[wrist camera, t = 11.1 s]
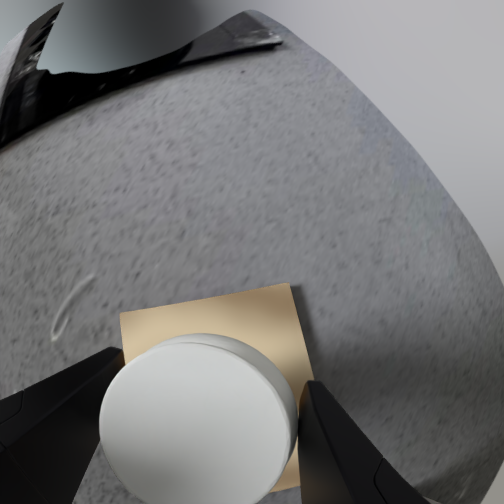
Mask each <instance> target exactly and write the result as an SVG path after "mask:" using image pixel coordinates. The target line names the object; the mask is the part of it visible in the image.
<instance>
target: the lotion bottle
mask: <svg viewBox="0 0 504 504" xmlns="http://www.w3.org/2000/svg"><path fill="white" fill-rule="evenodd" d="M423 497H424V496H423ZM424 498H425V499H426V500H428V501H429V502H430V503H431V504H441V503H439V502H436V501H434V500H431V499H429V498H426V497H424Z"/></svg>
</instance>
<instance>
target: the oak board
mask: <svg viewBox="0 0 504 504" xmlns="http://www.w3.org/2000/svg"><path fill="white" fill-rule="evenodd" d="M120 323H121V333H122V341H123V349H124V357H125V364H126V365H127V364H128V363H129V362H130V361H132V360H133V359H134V358H136V357H137V356H139V355H141V354H143V353H145V352H146V351H147V350H149V349H150V348H152V347H153V346H155V345H157V344H159V343H161V342H162V341H165V340H167V339H170V338H173V337H176V336H180V335H185V334H195V333H209V334H217V335H223V336H227V337H231V338H234V339H237V340H239V341H241V342H244V343H246V344H248V345H250V346H252V347H253V348H255V349H257V350H258V351H259V352H261V353H262V354H263V355H265V356H266V357H267V358H268V359H269V360H270V361H271V362H273V363H274V364H275V366H276V367H277V368H278V369H279V370H280V372H281V373H282V375H283V376H284V378H285V379H286V381H287V382H288V384H289V386H290V388H291V390H292V392H293V395H294V398H295V401H296V405H297V410H298V418H299V401H300V397H301V394H302V391H303V388H304V385H305V383H306V381H307V380H314V377H313V373H312V369H311V365H310V361H309V357H308V353H307V349H306V346H305V342H304V338H303V334H302V330H301V326H300V323H299V319H298V315H297V311H296V307H295V304H294V300H293V296H292V293H291V289H290V285H289V282H287V283H283V284H278V285H273V286H268V287H263V288H258V289H253V290H248V291H243V292H237V293H232V294H227V295H222V296H216V297H211V298H205V299H200V300H194V301H189V302H183V303H177V304H172V305H166V306H160V307H154V308H148V309H142V310H136V311H130V312H123V313H120ZM297 444H298V436H297V441H296V445H295V449H294V451H293V454H292V456H291V458H290V460H289V461H288V463H287V465H286V466H285V469H284V471H283V474H282V476H281V477H280V479H279V480H278V482H277V483H276V485H275V486H274V487H273V489H272V490H271V491H270V492H269V493H271V492H275V491H280V490H284V489H288V488H292V487H296V486H299V485H300V474H299V463H298V450H297Z"/></svg>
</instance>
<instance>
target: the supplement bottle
mask: <svg viewBox="0 0 504 504" xmlns="http://www.w3.org/2000/svg"><path fill="white" fill-rule="evenodd" d="M298 426H299V418H298V410H297V405H296V401H295V398H294V395H293V392H292V390H291V388H290V386H289V384H288V382H287V381H286V379H285V378H284V376H283V375H282V373H281V372H280V370H279V369H278V368H277V367H276V366H275V364H274V363H273V362H271V361H270V360H269V359H268V358H267V357H266V356H265V355H263V354H262V353H261V352H259V351H258V350H257V349H255V348H253V347H252V346H250V345H248V344H246V343H244V342H241V341H239V340H237V339H234V338H231V337H227V336H223V335H217V334H209V333H195V334H185V335H180V336H176V337H173V338H170V339H167V340H165V341H162V342H161V343H159V344H157V345H155V346H153V347H152V348H150V349H149V350H147V351H146V352H145V353H143V354H141V355H139V356H137V357H136V358H134V359H133V360H132V361H130V362H129V363H128V364H127V365H125V366H124V367H123V368H122V369H121V370H120V372H119V373H118V374H117V375H116V376H115V378H114V379H113V380H112V382H111V384H110V385H109V387H108V389H107V391H106V394H105V396H104V398H103V402H102V405H101V411H100V418H99V431H100V439H101V443H102V447H103V451H104V454H105V457H106V459H107V461H108V463H109V465H110V467H111V469H112V471H113V472H114V474H115V475H116V477H117V478H118V479H119V480H120V482H121V483H122V484H123V485H124V486H125V488H126V489H127V490H128V491H129V492H131V493H132V494H133V495H134V496H135V497H137V498H138V499H139V500H141V501H142V502H143V503H145V504H256V503H258V502H259V501H260V500H261V499H263V498H264V497H265V496H266V495H267V494H268V493H269V492H270V491H271V490H272V489H273V487H274V486H275V485H276V483H277V482H278V480H279V479H280V477H281V476H282V474H283V471H284V469H285V466H286V465H287V463H288V461H289V460H290V458H291V456H292V454H293V451H294V449H295V445H296V441H297V436H298Z"/></svg>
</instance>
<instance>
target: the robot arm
mask: <svg viewBox="0 0 504 504" xmlns="http://www.w3.org/2000/svg"><path fill="white" fill-rule="evenodd" d="M124 366H125V358H124V352H123V350H122V349H119V348H116V347H108V348H106V349H104V350H102V351H100V352H98V353H96V354H94V355H92V356H90V357H88V358H86V359H84V360H82V361H80V362H78V363H76V364H74V365H72V366H70V367H68V368H66V369H64V370H62V371H60V372H58V373H56V374H54V375H52V376H50V377H48V378H46V379H44V380H42V381H40V382H38V383H36V384H34V385H32V386H30V387H28V388H26V389H24V391H23V390H21V391H19V392H17V393H15V394H13V395H11V396H9V397H6V398H4V399H2V400H0V504H72V502H73V500H74V497H75V495H76V493H77V490H78V488H79V486H80V483H81V481H82V479H83V477H84V474H85V472H86V470H87V468H88V465H89V463H90V461H91V459H92V456H93V454H94V452H95V450H96V448H97V446H98V443H99V441H100V431H99V418H100V411H101V405H102V402H103V398H104V396H105V394H106V391H107V389H108V387H109V385H110V384H111V382H112V380H113V379H114V378H115V376H116V375H117V374H118V373H119V372H120V370H121V369H122V368H123V367H124ZM297 450H298V463H299V474H300V486H301V499H302V504H431V503H430V502H429V501H428V500H426V499H425V498H424V497H423V496H422V495H421V494H420V493H418V492H417V491H416V490H415V489H414V488H413V487H412V486H411V485H410V484H409V483H408V482H407V481H406V480H404V479H403V478H402V477H401V476H400V474H399V473H398V472H397V471H396V470H395V469H394V468H393V467H392V466H391V465H390V463H389V462H388V461H387V460H386V459H385V458H383V455H382V454H381V453H380V452H379V451H378V450H377V448H376V447H375V446H374V445H373V444H372V442H371V441H370V440H369V439H368V438H367V437H366V435H365V434H364V433H363V432H362V431H361V429H360V428H359V427H358V426H357V425H356V423H355V422H354V421H353V420H352V419H351V417H350V416H349V415H348V414H347V413H346V411H345V410H344V409H343V408H342V407H341V405H340V404H339V403H338V402H337V400H336V399H335V398H334V397H333V396H332V394H331V393H330V392H329V391H328V390H327V388H326V387H325V386H324V385H323V383H322V382H321V381H316V380H307V381H306V383H305V385H304V388H303V391H302V394H301V397H300V401H299V426H298V444H297Z"/></svg>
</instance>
